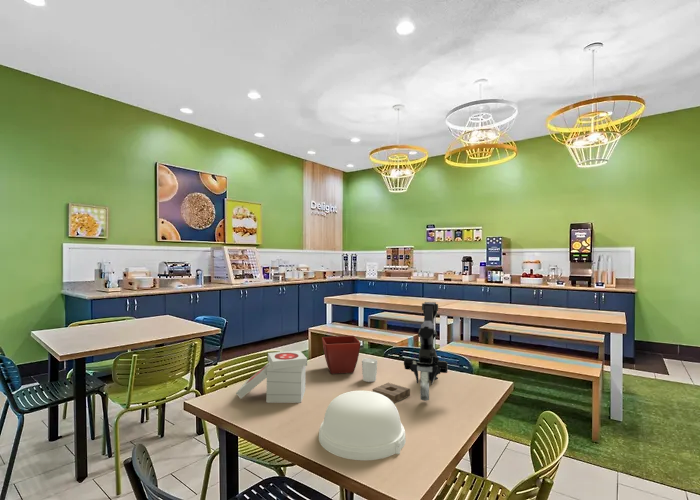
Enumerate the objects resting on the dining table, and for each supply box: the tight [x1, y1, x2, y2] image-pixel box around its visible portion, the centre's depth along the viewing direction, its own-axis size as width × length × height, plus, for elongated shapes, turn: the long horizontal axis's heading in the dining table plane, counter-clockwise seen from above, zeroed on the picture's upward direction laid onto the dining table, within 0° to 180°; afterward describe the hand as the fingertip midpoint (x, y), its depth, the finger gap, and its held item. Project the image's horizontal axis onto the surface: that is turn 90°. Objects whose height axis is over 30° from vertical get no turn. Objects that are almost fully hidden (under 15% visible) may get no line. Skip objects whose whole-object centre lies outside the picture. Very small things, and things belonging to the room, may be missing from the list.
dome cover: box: [318, 390, 406, 461], centre depth 125 cm, size 32×30×14 cm
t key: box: [417, 365, 432, 402], centre depth 155 cm, size 4×6×14 cm, turn 74°
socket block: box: [372, 382, 411, 404], centre depth 163 cm, size 12×12×3 cm
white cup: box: [361, 357, 378, 383], centre depth 184 cm, size 8×8×10 cm
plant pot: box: [321, 335, 362, 375], centre depth 200 cm, size 19×19×17 cm
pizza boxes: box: [236, 350, 308, 404], centre depth 161 cm, size 19×30×18 cm, turn 90°
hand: (424, 383), depth 154 cm, fingers closed on t key, 5 cm apart
